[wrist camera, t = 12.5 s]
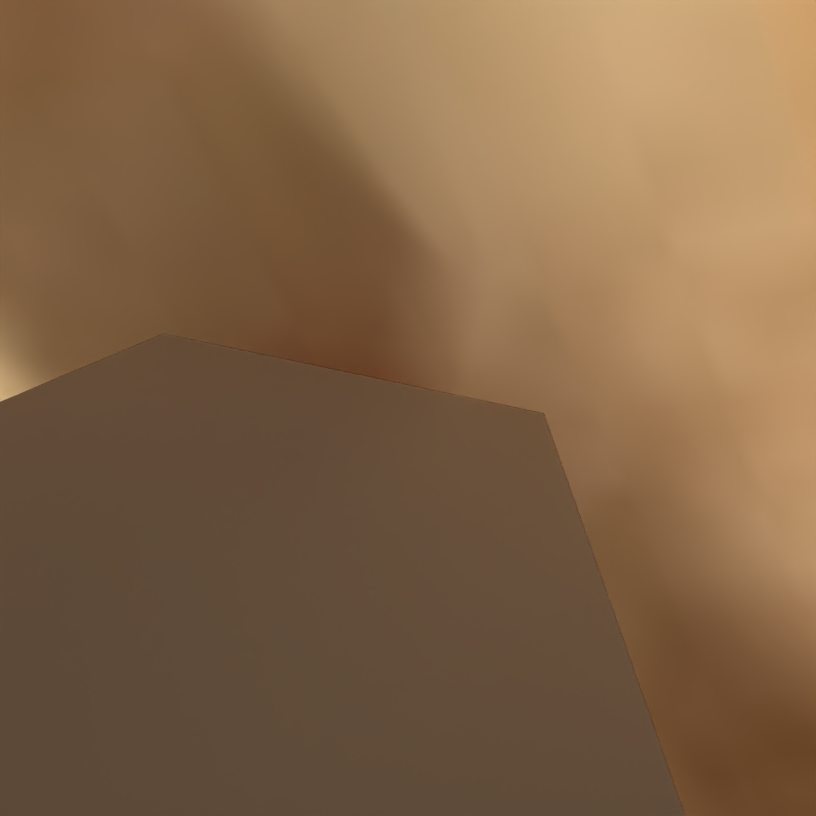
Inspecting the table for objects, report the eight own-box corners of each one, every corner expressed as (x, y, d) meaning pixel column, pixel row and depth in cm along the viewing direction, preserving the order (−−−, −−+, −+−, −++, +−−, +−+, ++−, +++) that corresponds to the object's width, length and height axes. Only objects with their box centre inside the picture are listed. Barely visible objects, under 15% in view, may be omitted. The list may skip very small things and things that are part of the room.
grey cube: (544, 413, 11) (772, 1058, 3) (459, 702, 14) (442, 1463, 5) (163, 333, 11) (-703, 694, 3) (155, 632, 14) (-305, 1255, 6)
